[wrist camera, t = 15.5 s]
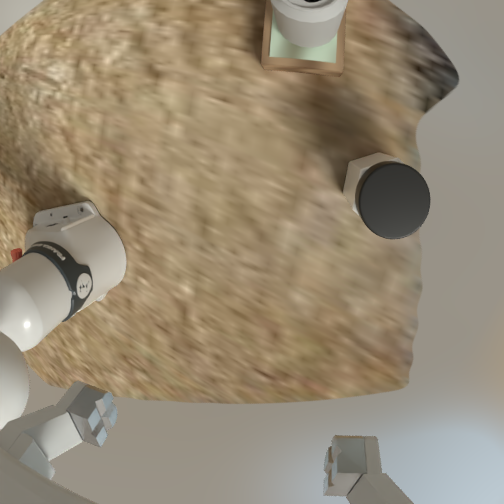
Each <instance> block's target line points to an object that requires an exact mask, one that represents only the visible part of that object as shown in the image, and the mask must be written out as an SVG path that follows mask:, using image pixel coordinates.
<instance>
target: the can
mask: <svg viewBox="0 0 504 504" xmlns="http://www.w3.org/2000/svg"><path fill="white" fill-rule="evenodd" d="M347 2H348V0H271V4H272V8H273V11H274V15H275V19H276V22H277V26H278V29H279V31H280V33H281V34H282V35H283V37H284V38H285V39H287V40H288V41H289V42H291V43H293V44H295V45H298V46H300V47H308V48H312V47H319V46H322V45H324V44H326V43H329V42H330V41H331V40H332V39H333V38H334V37H335V35H336V33H337V31H338V29H339V26H340V23H341V20H342V17H343V14H344V11H345V8H346V5H347Z"/></svg>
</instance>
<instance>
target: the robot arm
mask: <svg viewBox="0 0 504 504" xmlns="http://www.w3.org/2000/svg"><path fill="white" fill-rule="evenodd" d="M82 208H83V210H84V211H83V210H82ZM11 256H12V259H13V263H11V264H9V265H8V266H6V267H4V268H3V269H1V270H0V429H2V430H1V431H0V504H97V503H95V502H93V501H90V500H89V499H87V498H84V497H82V496H80V495H78V494H76V493H74V492H72V491H70V490H69V489H67V488H65V487H63V486H61V485H59V484H57V483H56V482H54V481H52V480H51V479H52V477H53V476H54V474H55V469H54V468H53V466H52V465H51V464H50V462H49V460H51V459H53V458H55V457H57V456H58V455H60V454H62V453H64V452H65V451H67V450H69V449H71V448H72V447H74V446H76V445H78V444H79V443H81V442H83V441H85V442H88V443H91V444H93V445H95V446H98V447H101V446H102V444H103V443H104V441H105V439H106V438H107V436H108V434H107V430H109V429H111V428H112V427H113V426H114V424H115V422H116V419H117V408H116V406H115V405H114V404H113V403H112V400H113V396H112V393H110V392H107V391H105V390H102V389H99V388H97V387H94V386H91V385H89V384H86V383H84V382H81V381H79V380H78V381H76V382H74V383H73V385H72V386H71V387H70V388H69V389H68V391H67V392H66V393H65V394H64V396H63V397H62V398H61V399H60V401H59V402H58V403H57V404H56V406H54V405H51V406H48V407H46V408H43V409H41V410H38V411H35V412H33V413H30V414H27V415H25V416H22V417H20V416H21V414H22V413H23V411H24V409H25V407H26V404H27V401H28V396H29V389H30V380H29V372H28V367H27V364H26V361H25V358H24V356H23V354H22V352H23V351H26V350H29V349H31V348H33V347H34V346H36V345H37V344H38V343H39V342H40V341H41V340H42V339H43V338H45V337H46V336H47V335H48V334H49V333H50V332H51V331H52V330H53V329H54V328H55V327H56V326H57V325H58V324H59V323H61V322H64V321H66V320H68V319H69V318H70V317H73V316H74V315H75V313H76V312H79V311H81V310H82V309H84V308H85V307H87V306H88V305H89V304H91V303H92V302H94V301H101V300H102V299H104V297H105V296H106V294H107V292H108V291H109V290H110V289H112V288H113V287H115V286H117V285H118V284H119V283H120V282H121V280H122V278H123V276H124V274H125V270H126V254H125V250H124V246H123V244H122V241H121V239H120V237H119V236H118V234H117V232H116V231H115V230H114V228H113V227H112V226H111V225H110V224H109V223H108V222H107V221H105V220H104V219H103V218H102V217H101V216H100V214H99V213H98V211H97V209H96V207H95V206H94V204H93V203H92V202H90V201H85V202H79V203H75V204H70V205H65V206H60V207H55V208H51V209H46V210H42V211H39V212H37V213H36V214H35V217H34V221H33V228H31V229H29V230H28V231H27V233H26V237H25V253H24V254H23V256H22V249H20V248H17V249H14V250H12V251H11ZM82 440H83V441H82ZM324 471H325V472H326V473H327V476H326V477H325V479H324V495H327V496H347V497H346V498H347V499H348V501H349V503H350V504H414V503H413V502H412V501H411V500H410V499H409V498H408V497H407V496H406V495H405V494H404V493H403V491H402V490H401V489H400V488H399V487H398V486H397V485H396V484H395V483H394V482H393V481H392V479H391V478H390V477H389V476H388V475H387V474H386V473H382V468H381V460H380V452H379V445H378V439H377V437H375V436H365V437H364V436H337V435H335V436H334V437H333V439H332V446H331V447H329V448H328V450H327V453H326V457H325V463H324Z"/></svg>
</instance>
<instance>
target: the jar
mask: <svg viewBox="0 0 504 504" xmlns="http://www.w3.org/2000/svg"><path fill="white" fill-rule="evenodd" d="M343 195H344V196H345V198H346V200H347V201H348V203H349V204H350V206H351V208H352V209H353V210H354V211H355V212H356V213H357V214H358V215H359V216H360V217H361V219H362V220H363V222H364V223H365V225H366V226H367V227H368V228H369V229H370V230H371V231H372V232H373V233H375V234H376V235H378V236H380V237H383V238H386V239H400V238H404V237H407V236H409V235H411V234H413V233H414V232H415V231H417V230H418V229H419V228H420V227H421V225H422V224H423V222H424V221H425V219H426V217H427V215H428V212H429V208H430V192H429V188H428V186H427V184H426V181H425V180H424V178H423V177H422V176H421V174H420V173H419V172H418V171H416V170H415V169H414V168H412V167H410V166H408V165H405V164H404V163H403V162H402V161H401V160H400V159H399V158H397V157H394V156H390V155H387V154H383V153H380V152H378V153H375V154H372V155H368V156H365V157H362V158H359V159H356V160H353V161H350V162H349V164H348V169H347V174H346V179H345V184H344V189H343Z"/></svg>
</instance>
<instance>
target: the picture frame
mask: <svg viewBox="0 0 504 504" xmlns="http://www.w3.org/2000/svg"><path fill="white" fill-rule="evenodd" d="M345 22H346V8H345V11H344V14H343V17H342V20H341V23H340V26H339V29H338V31H337V33H336V35H335V37H334V38H333V39H332V40H331V41H330V42H329V43H326V44H324V45H322V46H319V47H312V48H308V47H300V46H298V45H295V44H293V43H291V42H289V41H288V40H287V39H285V38H284V37H283V35H282V34H281V33H280V31H279V29H278V26H277V22H276V19H275V15H274V11H273V8H272V4H271V0H266V6H265V19H264V31H263V44H262V57H261V65H262V66H263V68H264V70H276V71H289V72H300V73H310V74H318V75H326V76H334V77H340V76H341V75H342V73H343V67H344V48H345Z"/></svg>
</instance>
